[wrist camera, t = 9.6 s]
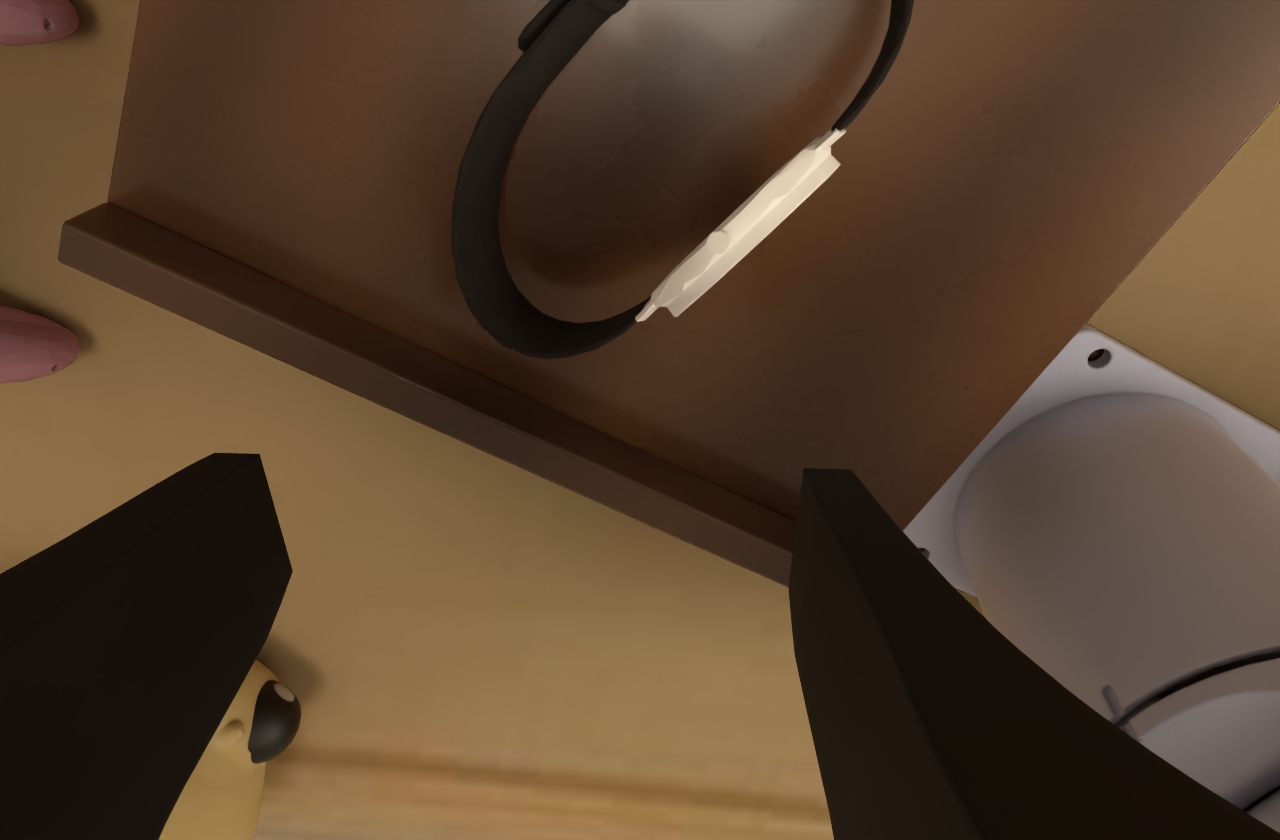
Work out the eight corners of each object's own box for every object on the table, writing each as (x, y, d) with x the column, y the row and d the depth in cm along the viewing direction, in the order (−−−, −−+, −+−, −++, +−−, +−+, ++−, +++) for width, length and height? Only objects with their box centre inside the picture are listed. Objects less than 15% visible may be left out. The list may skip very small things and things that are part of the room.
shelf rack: (1162, 2, 17) (1401, 45, 11) (826, 445, 22) (867, 624, 17) (407, -492, 14) (196, -789, 8) (245, 162, 20) (54, 261, 14)
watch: (611, 366, 15) (587, 478, 12) (405, 187, 14) (320, 263, 11) (963, 40, 12) (1052, 79, 9) (746, -236, 11) (762, -299, 8)
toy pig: (329, 680, 34) (381, 743, 25) (125, 989, 30) (94, 1205, 20) (98, 552, 31) (56, 568, 21) (-169, 878, 27) (-364, 1075, 17)
